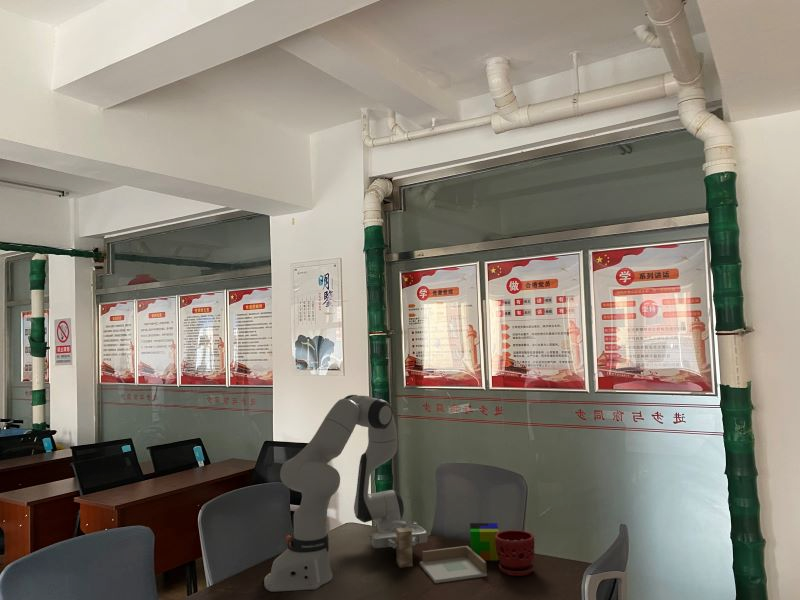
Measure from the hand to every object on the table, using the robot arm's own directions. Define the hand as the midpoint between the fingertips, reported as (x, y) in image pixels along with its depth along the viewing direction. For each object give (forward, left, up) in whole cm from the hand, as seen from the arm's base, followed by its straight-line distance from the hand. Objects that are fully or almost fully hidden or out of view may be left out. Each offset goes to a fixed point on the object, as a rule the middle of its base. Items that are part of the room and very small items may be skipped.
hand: (404, 544), depth 215 cm
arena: (+14, -10, -7) cm, 18 cm away
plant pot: (+34, -17, -7) cm, 39 cm away
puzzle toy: (+30, 0, -7) cm, 31 cm away
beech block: (0, +1, -7) cm, 7 cm away
